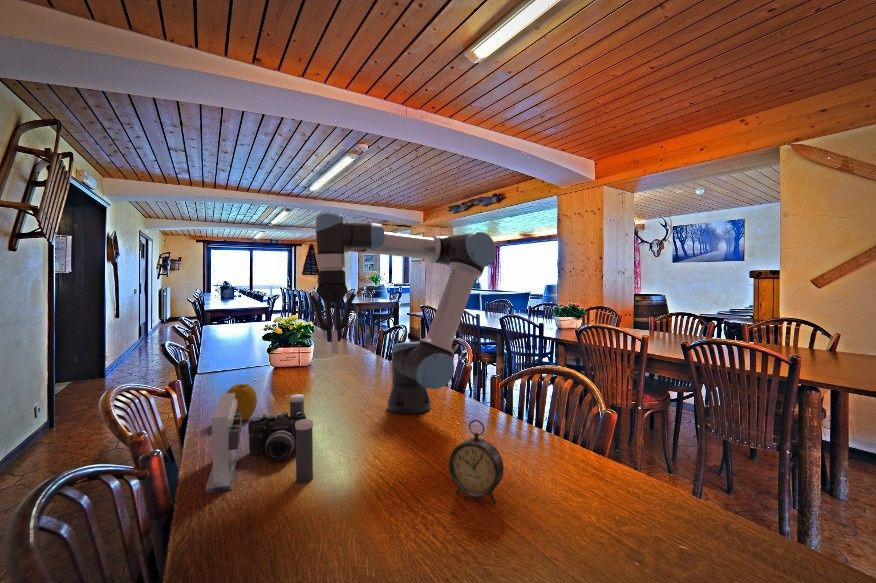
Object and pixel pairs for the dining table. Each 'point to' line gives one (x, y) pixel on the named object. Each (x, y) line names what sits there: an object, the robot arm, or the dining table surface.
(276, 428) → the camera
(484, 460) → the alarm clock
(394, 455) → the dining table surface
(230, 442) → the breaker panel
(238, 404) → the yellow-brown oval body
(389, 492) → the dining table surface
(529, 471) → the dining table surface
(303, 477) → the post
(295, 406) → the post
